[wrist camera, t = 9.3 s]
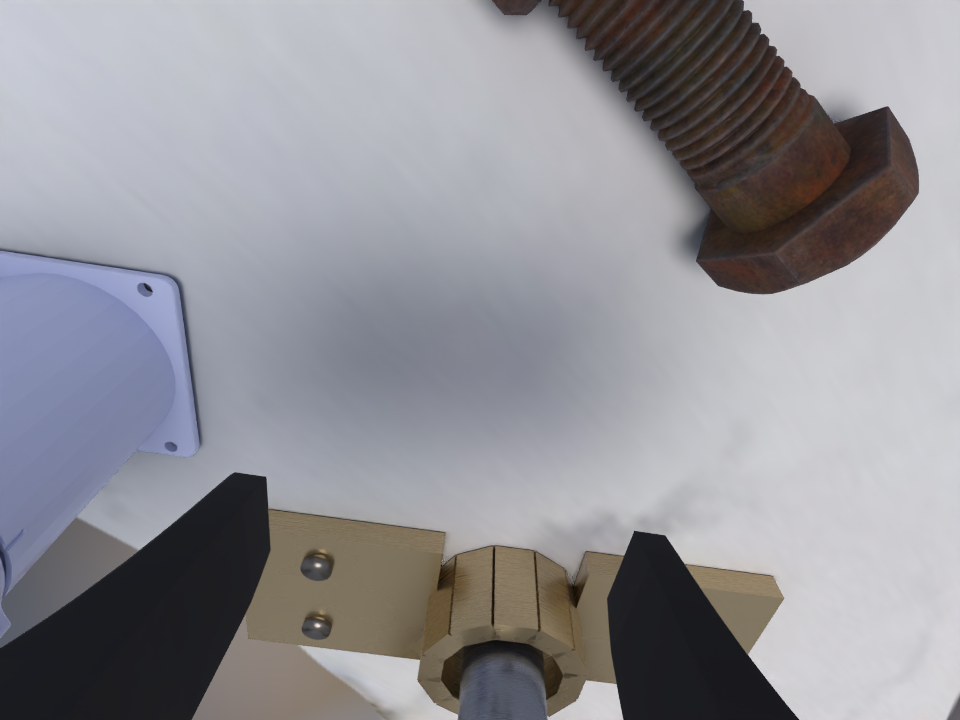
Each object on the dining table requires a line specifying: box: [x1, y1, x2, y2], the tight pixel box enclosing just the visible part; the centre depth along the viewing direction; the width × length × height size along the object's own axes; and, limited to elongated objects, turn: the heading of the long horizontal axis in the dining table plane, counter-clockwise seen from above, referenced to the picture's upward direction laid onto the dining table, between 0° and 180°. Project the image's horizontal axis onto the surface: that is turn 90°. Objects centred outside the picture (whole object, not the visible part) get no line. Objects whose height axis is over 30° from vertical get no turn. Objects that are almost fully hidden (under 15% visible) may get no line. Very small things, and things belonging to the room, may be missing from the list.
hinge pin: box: [458, 640, 547, 720], centre depth 24 cm, size 4×4×8 cm
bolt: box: [492, 0, 919, 294], centre depth 13 cm, size 6×5×15 cm
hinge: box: [246, 509, 784, 717], centre depth 26 cm, size 25×8×4 cm, turn 81°
